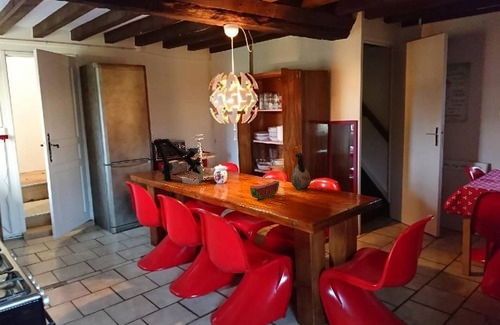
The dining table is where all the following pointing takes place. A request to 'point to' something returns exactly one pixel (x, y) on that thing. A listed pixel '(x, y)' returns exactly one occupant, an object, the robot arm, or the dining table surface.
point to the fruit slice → (265, 190)
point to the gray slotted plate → (200, 172)
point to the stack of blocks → (178, 166)
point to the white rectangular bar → (190, 181)
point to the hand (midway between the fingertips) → (201, 173)
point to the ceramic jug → (300, 175)
